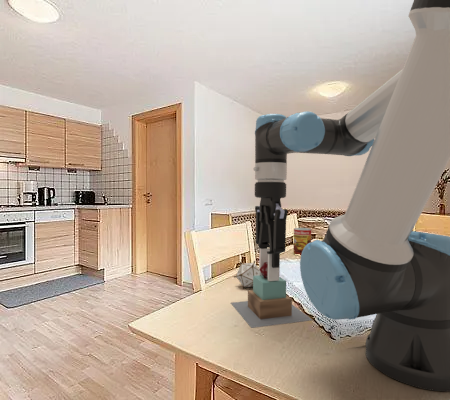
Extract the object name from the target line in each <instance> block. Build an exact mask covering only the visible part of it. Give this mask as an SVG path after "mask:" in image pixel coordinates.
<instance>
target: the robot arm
mask: <svg viewBox="0 0 450 400" xmlns="http://www.w3.org/2000/svg"><path fill="white" fill-rule="evenodd" d="M408 19H409V20H410V23H411V24H412V26H413V28H414V30H415V37H414V40H413V42H412V45H411V47H410V50H409V52H408V54H407V57H406V60H405V62H404V65H403V68H402V69H400V70H399V71H398V72H397V73H396V74H394V75H393V76H392V77H391V78H389V79H388V80H387V81H385V83H384V82H383V83H384V84H382V85H381V86H379V88H377V89H376V90H375V91H373V92H372V93H370V94H369V95H368V96H367V97H365V98H364V100H362V101H361V102H360V103H359V104H357V105H356V106H354V108H352V109H351V110H350V111H349V112H347V113H346V114H345V115H344V116H342V117H341V118H338V119H331V118H325V117H323V118H322V117H320V116H319V115H317V114H316V113H315V112H313V111H302V112H296V113H294V114H291V115H289V116H286V115H284V114H280V113H267V114H262V115H260V116H258V117H257V118H256V121H255V130H254V135H255V136H254V139H255V141H254V143H255V144H254V147H255V151H254V152H255V156H254V159H255V160H254V161H255V162H254V163H255V165H254V167H253V171H254V179H255V180H256V182H255V183H254V197H255V198H257V199H258V198H259V199H260V200H259V201H260V202H259V205H255V206H254V210H255V211H254V212H255V244H256V245H257V246H258V248H259V253H258V254H259V259H258V260H259V261H258V262H259V263H258V268H259V269H260V268H261V267H262V265H263V264H264V262H268V281H279V277H280V271H281V270H280V269H281V267H280V266H281V263H280V261H281V260H280V257H281V254H282V253H286V242H287V241H286V240H287V237H286V236H287V235H286V234H287V233H286V232H287V218H288V209H287V208H286V209H283V208H282V203H281V199H285V198H286V197H287V183H286V182H285V181H286V180H287V176H288V175H287V174H288V172H287V171H288V170H287V169H288V168H287V167H288V164H287V163H288V161H287V158H288V154H295V153H296V154H311V155H313V154H315V155H318V154H319V155H331V156H333V155H334V156H336V155H337V156H345V157H353V156H363V155H365V154H367V153H368V152H369V153H368V156H367V158H366V160H365V164H364V165H363V168H362V171H361V173H360V176H359V178H358V181H357V183H356V186H355V188H354V190H353V193H352V196H351V198H350V201H349V203H348V206H347V209H346V210H345V214H342V215H338V216H336V217H334V218H333V219H332V220H330V223H329V224H328V228H327V230H326V232H325V235H324V237H323V239H322V240H319V239H315V240H313V241H311V243H308V244H307V245H306V246H305V247H304V249H303V251H302V254H301V256H300V259H299V268H300V269H299V270H300V277H301V280H302V281H301V282H302V285H303V289H304V291H305V293H306V295H307V297H308V299H309V301H310V302H311V304H312V305H313V307H314V308H315V309H316V310H317V311H318V312H319V313H320V314H322V316H324V317H326V318H328V319H332V320H355V319H357V318H362V317H368V316H373V315H375V318H374V320H373V322H372V325H371V328H370V333H369V334H368V335H367V337H366V340H365V356H366V358H367V360H368V362H369V363H370V364H371V365H372V366H373V368H375V369H376V370H379V372H381V373H383V374H384V375H386V376H388V377H390V378H391V379H393V380H396V381H397V382H400V383H403V384H406V385H408V386H412V387H415V388H419V389H424V390H427V391H428V390H429V391H434V392H435V391H438V392H450V235H444V234H436V233H430V232H421V231H414V228H415V226H416V224H417V222H418V220H419V219H420V216H421V215H422V213H423V210H424V209H425V207H426V205H427V203H428V201H429V199H430V198H431V196H432V194H433V192H434V190H435V188H436V186H437V184H438V183H439V181H440V179H441V177H442V174H443V173H444V172H445V169H446V167H447V166H448V164H449V162H450V0H413V2H412V5H411V8H410V9H409V12H408ZM259 275H262V273H261V272H260V270H259Z"/></svg>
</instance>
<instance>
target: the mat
mask: <svg viewBox="0 0 450 400" xmlns="http://www.w3.org/2000/svg"><path fill="white" fill-rule="evenodd" d="M230 304H231V306H232V307H233V308H234V309H235V310H236V312H237V313H238V314H239V315H240V317H242V319H243V320H244V321H245V322H246V323H247V324H248V326H249V327H250V328H251V329H252V328H253V329H254V328H263V327H271V326H278V325H284V324H285V325H286V324H293V323H299V322H300V323H302V322H310V321H313V319H312V318H311V317H310V316H309V315H308V314H306V313H305V312H303V311H302V310H300V309H299V308H298V307H296V306H295V305H293V304H292V316H283V317H275V318H267V319H259V318H258V317H257V316H256V314H255V313H254V312H253V311H252V310H251V309H250V308H249V307H248V300H245V301H233V302H230Z"/></svg>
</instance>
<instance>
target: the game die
mask: <svg viewBox="0 0 450 400" xmlns="http://www.w3.org/2000/svg"><path fill="white" fill-rule="evenodd" d="M239 264H240V266H239V268H238V270H237V273H236V275H234V276H233V278H234V279H235V278H236V279H237V281H239V283H240V284H241V286H242V289H243V290H244V289H246V288H251V287H252V288H253V276H259V266H258V265H257V264H256V260H254V261H253V262H247V263H246V262H245V263H244V262H243V263H242V262H241V261H239Z"/></svg>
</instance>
